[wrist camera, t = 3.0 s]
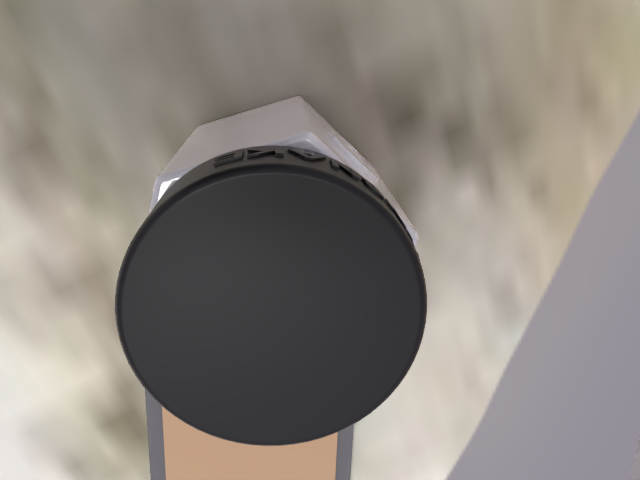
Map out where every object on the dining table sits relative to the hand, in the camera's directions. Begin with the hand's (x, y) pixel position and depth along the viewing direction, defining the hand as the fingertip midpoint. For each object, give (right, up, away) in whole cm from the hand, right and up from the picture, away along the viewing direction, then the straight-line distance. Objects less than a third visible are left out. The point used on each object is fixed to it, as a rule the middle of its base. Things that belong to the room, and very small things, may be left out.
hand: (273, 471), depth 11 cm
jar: (-1, +6, +17) cm, 18 cm away
